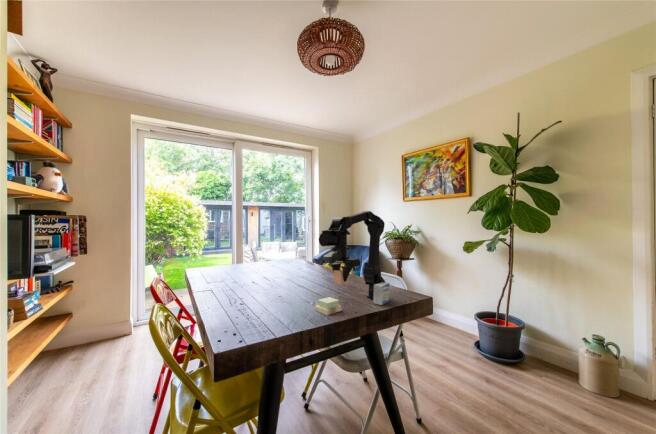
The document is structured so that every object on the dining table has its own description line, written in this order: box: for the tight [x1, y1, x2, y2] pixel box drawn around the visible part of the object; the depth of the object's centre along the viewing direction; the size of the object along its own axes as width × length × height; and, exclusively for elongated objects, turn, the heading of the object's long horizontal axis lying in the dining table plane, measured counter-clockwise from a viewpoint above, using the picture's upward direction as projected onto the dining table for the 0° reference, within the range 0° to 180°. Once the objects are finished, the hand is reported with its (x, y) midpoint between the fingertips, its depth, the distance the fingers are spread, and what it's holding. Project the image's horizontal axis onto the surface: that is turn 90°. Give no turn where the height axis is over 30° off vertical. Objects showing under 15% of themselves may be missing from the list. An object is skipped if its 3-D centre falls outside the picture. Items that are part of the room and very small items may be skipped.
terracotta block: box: [333, 268, 349, 286], centre depth 114 cm, size 4×4×6 cm
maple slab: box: [315, 304, 343, 316], centre depth 112 cm, size 8×8×2 cm
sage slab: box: [317, 296, 340, 309], centre depth 112 cm, size 6×6×2 cm
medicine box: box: [373, 281, 391, 306], centre depth 121 cm, size 8×4×9 cm, turn 141°
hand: (341, 280), depth 114 cm, fingers closed on terracotta block, 4 cm apart
